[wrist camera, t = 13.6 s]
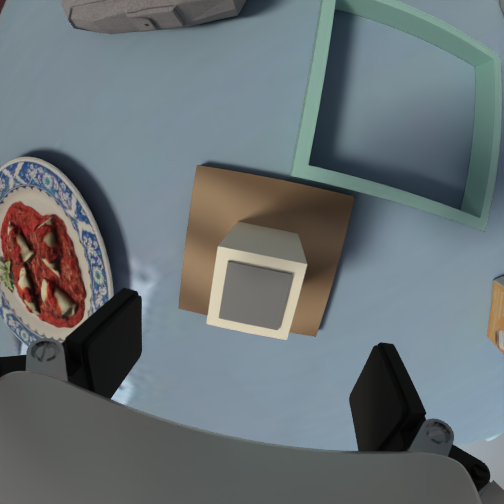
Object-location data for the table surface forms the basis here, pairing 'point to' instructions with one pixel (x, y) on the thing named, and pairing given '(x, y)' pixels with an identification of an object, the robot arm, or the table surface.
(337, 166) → the table surface
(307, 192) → the walnut board
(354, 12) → the bin
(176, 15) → the small grey backpack
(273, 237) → the block
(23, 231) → the ceramic plate
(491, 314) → the small box
